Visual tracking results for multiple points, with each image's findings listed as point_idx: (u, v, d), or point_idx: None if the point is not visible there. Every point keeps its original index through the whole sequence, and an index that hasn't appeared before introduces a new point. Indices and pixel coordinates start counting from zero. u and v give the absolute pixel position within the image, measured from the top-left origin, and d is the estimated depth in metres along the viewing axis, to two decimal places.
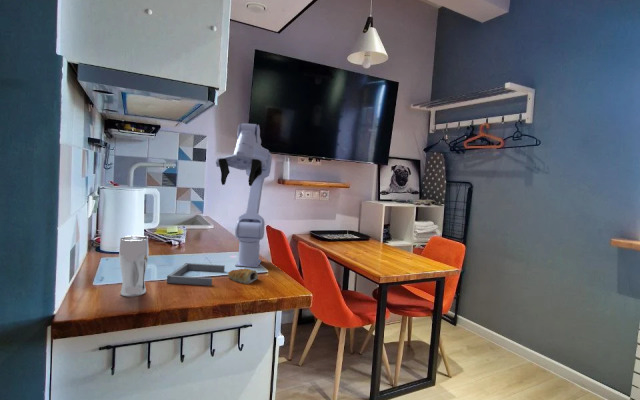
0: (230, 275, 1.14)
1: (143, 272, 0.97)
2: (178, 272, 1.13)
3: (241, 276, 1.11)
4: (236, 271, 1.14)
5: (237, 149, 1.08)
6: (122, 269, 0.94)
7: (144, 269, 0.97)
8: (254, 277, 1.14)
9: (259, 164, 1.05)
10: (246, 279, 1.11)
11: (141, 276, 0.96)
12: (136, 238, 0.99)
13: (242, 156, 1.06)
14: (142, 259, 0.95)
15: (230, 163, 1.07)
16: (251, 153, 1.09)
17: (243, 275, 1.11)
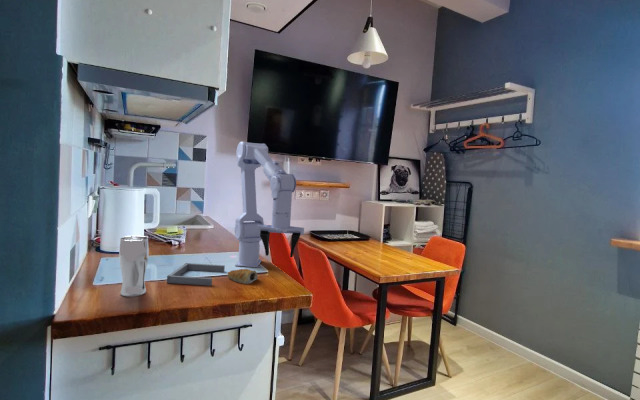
0: (230, 275, 1.13)
1: (143, 272, 0.97)
2: (178, 272, 1.13)
3: (241, 276, 1.11)
4: (236, 271, 1.13)
5: (275, 220, 1.10)
6: (122, 269, 0.94)
7: (144, 269, 0.97)
8: (254, 277, 1.14)
9: (298, 238, 1.12)
10: (246, 279, 1.10)
11: (141, 276, 0.96)
12: (136, 238, 0.99)
13: None
14: (142, 259, 0.95)
15: (270, 231, 1.13)
16: (289, 220, 1.12)
17: (242, 275, 1.11)
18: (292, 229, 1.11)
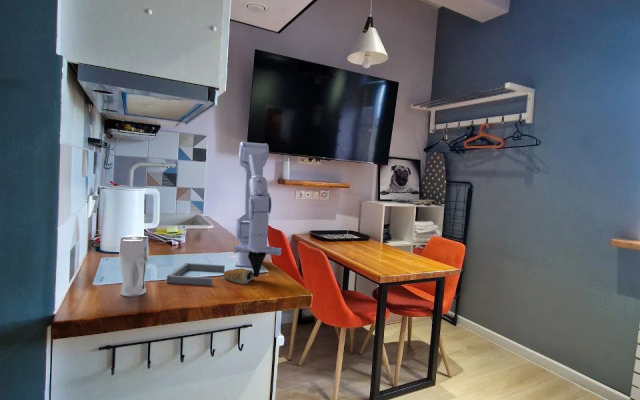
0: (226, 275, 1.13)
1: (143, 272, 0.97)
2: (178, 272, 1.13)
3: (238, 276, 1.10)
4: (232, 271, 1.12)
5: (252, 241, 1.11)
6: (122, 269, 0.94)
7: (144, 269, 0.97)
8: (250, 277, 1.14)
9: (263, 258, 1.12)
10: (243, 279, 1.10)
11: (141, 276, 0.96)
12: (136, 238, 0.99)
13: None
14: (142, 259, 0.95)
15: (247, 251, 1.14)
16: (266, 241, 1.13)
17: (239, 275, 1.10)
18: (269, 250, 1.12)
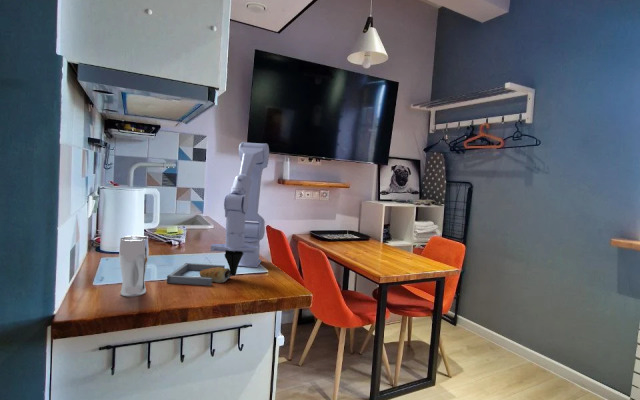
0: (202, 275, 1.12)
1: (143, 272, 0.97)
2: (178, 272, 1.13)
3: (215, 275, 1.10)
4: (209, 270, 1.12)
5: (228, 240, 1.11)
6: (122, 269, 0.94)
7: (144, 269, 0.97)
8: (227, 275, 1.14)
9: (240, 257, 1.12)
10: (221, 277, 1.10)
11: (141, 276, 0.96)
12: (136, 238, 0.99)
13: None
14: (142, 259, 0.95)
15: (224, 250, 1.14)
16: (242, 239, 1.13)
17: (217, 274, 1.10)
18: (245, 249, 1.12)
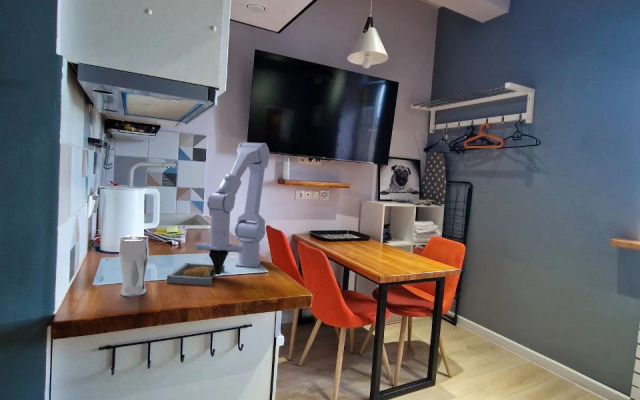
0: (187, 274, 1.11)
1: (143, 272, 0.97)
2: (178, 272, 1.13)
3: (201, 274, 1.10)
4: (194, 270, 1.11)
5: (212, 239, 1.11)
6: (122, 269, 0.94)
7: (144, 269, 0.97)
8: (212, 274, 1.14)
9: (224, 256, 1.12)
10: (207, 277, 1.10)
11: (141, 276, 0.96)
12: (136, 238, 0.99)
13: None
14: (142, 259, 0.95)
15: (209, 249, 1.14)
16: (227, 238, 1.13)
17: (203, 273, 1.10)
18: (229, 248, 1.12)
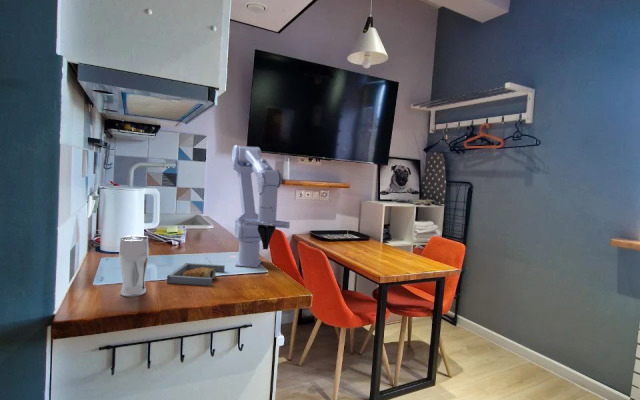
0: (187, 275, 1.11)
1: (143, 272, 0.97)
2: (178, 272, 1.13)
3: (201, 275, 1.09)
4: (193, 271, 1.11)
5: (261, 214, 1.14)
6: (122, 269, 0.94)
7: (144, 269, 0.97)
8: (212, 275, 1.14)
9: (273, 231, 1.16)
10: None
11: (141, 276, 0.96)
12: (136, 238, 0.99)
13: (267, 224, 1.15)
14: (142, 259, 0.95)
15: (257, 225, 1.17)
16: (275, 214, 1.16)
17: (203, 274, 1.10)
18: (278, 223, 1.15)
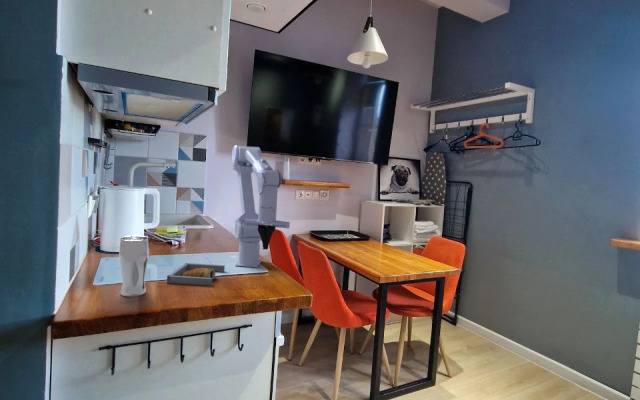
0: None
1: (143, 272, 0.97)
2: (178, 272, 1.13)
3: (201, 275, 1.09)
4: (193, 271, 1.11)
5: (261, 214, 1.14)
6: (122, 269, 0.94)
7: (144, 269, 0.97)
8: (212, 275, 1.14)
9: (273, 231, 1.16)
10: None
11: (141, 276, 0.96)
12: (136, 238, 0.99)
13: (267, 224, 1.15)
14: (142, 259, 0.95)
15: (257, 225, 1.17)
16: (275, 214, 1.16)
17: (203, 274, 1.09)
18: (278, 223, 1.15)
